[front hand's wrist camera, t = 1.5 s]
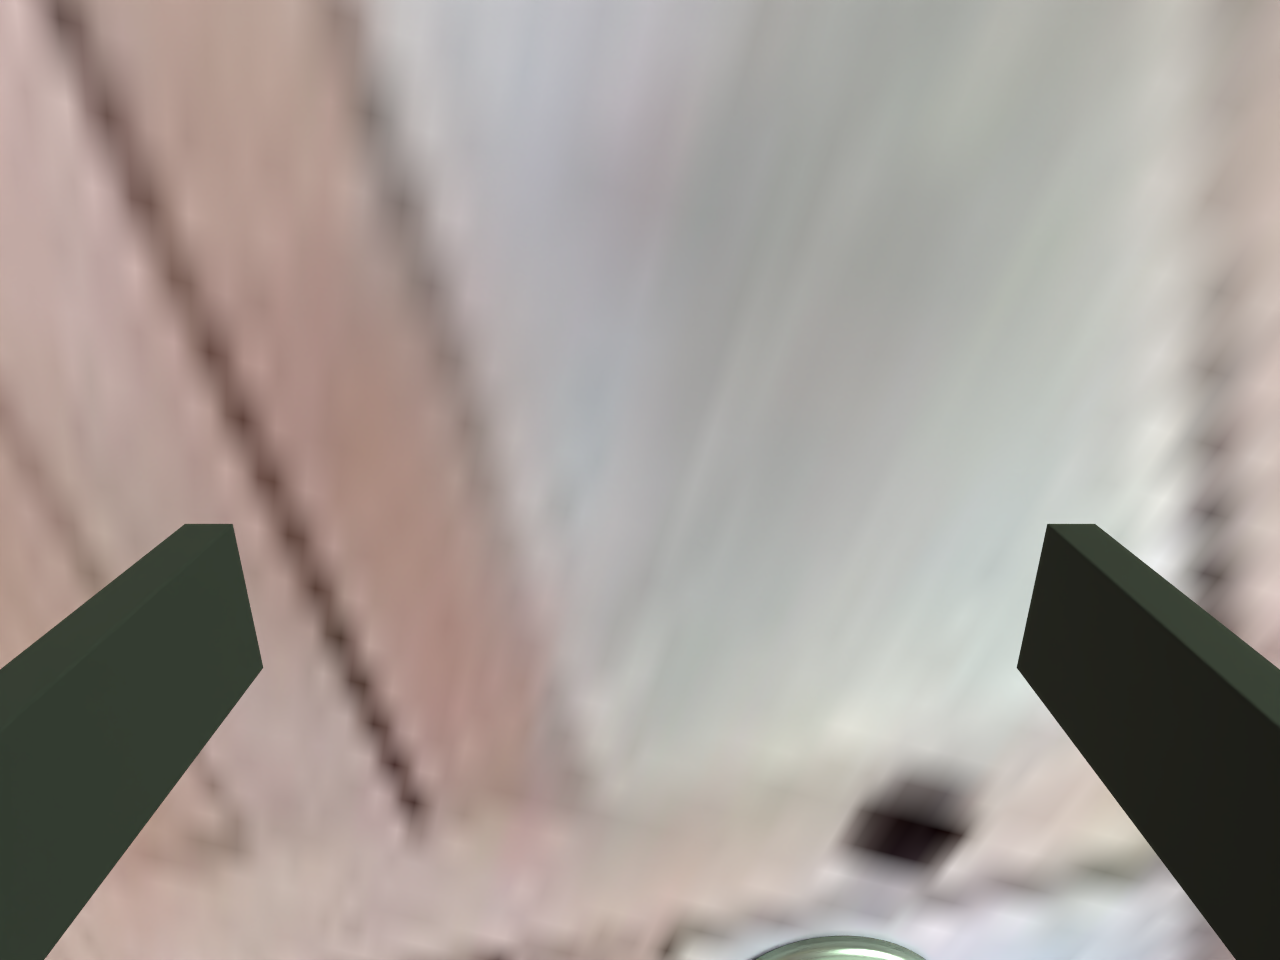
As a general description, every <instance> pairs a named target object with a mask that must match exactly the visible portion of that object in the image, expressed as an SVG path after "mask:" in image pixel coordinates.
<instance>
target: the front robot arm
mask: <svg viewBox="0 0 1280 960" xmlns="http://www.w3.org/2000/svg"><path fill="white" fill-rule="evenodd" d="M262 669H263V665H262V660H261V655H260V650H259V646H258V641H257V636H256V632H255V627H254V622H253V618H252V613H251V608H250V603H249V599H248V594H247V589H246V585H245V580H244V575H243V571H242V566H241V561H240V557H239V552H238V547H237V542H236V538H235V533H234V528H233V524H184V525H183V526H182V527H181V528H179V529H178V530H177V531H176V532H174V533H173V534H172V535H170V536H169V537H168V538H167V539H165V540H164V541H163V542H162V543H160V544H159V545H158V546H157V547H155V548H154V549H153V550H151V551H150V552H149V553H148V554H146V555H145V556H144V557H143V558H141V559H140V560H139V561H138V562H136V563H135V564H134V565H132V566H131V567H130V568H129V569H127V570H126V571H125V572H124V573H122V574H121V575H120V576H118V577H117V578H116V579H115V580H113V581H112V582H111V583H110V584H108V585H107V586H106V587H105V588H103V589H102V590H101V591H99V592H98V593H97V594H96V595H94V596H93V597H92V598H91V599H89V600H88V601H87V602H85V603H84V604H83V605H82V606H80V607H79V608H78V609H77V610H75V611H74V612H73V613H72V614H70V615H69V616H68V617H66V618H65V619H64V620H63V621H61V622H60V623H59V624H58V625H56V626H55V627H54V628H52V629H51V630H50V631H49V632H47V633H46V634H45V635H44V636H42V637H41V638H40V639H39V640H37V641H36V642H35V643H33V644H32V645H31V646H30V647H28V648H27V649H26V650H25V651H23V652H22V653H21V654H20V655H18V656H17V657H16V658H14V659H13V660H12V661H11V662H9V663H8V664H7V665H6V666H4V667H3V668H2V669H0V960H44V959H45V958H46V956H47V955H48V954H49V952H50V951H51V950H52V948H53V947H54V946H55V944H56V943H57V942H58V940H59V939H60V938H61V936H62V935H63V934H64V932H65V931H66V930H67V928H68V927H69V926H70V924H71V923H72V922H73V920H74V919H75V918H76V916H77V915H78V914H79V912H80V911H81V910H82V908H83V907H84V906H85V904H86V903H87V902H88V900H89V899H90V898H91V896H92V895H93V894H94V892H95V891H96V890H97V888H98V887H99V886H100V884H101V883H102V882H103V880H104V879H105V878H106V876H107V875H108V874H109V872H110V871H111V870H112V868H113V867H114V866H115V864H116V863H117V862H118V860H119V859H120V858H121V856H122V855H123V854H124V852H125V851H126V850H127V849H128V847H129V846H130V845H131V843H132V842H133V841H134V839H135V838H136V837H137V835H138V834H139V833H140V831H141V830H142V829H143V827H144V826H145V825H146V823H147V822H148V821H149V819H150V818H151V817H152V815H153V814H154V813H155V811H156V810H157V809H158V807H159V806H160V805H161V803H162V802H163V801H164V799H165V798H166V797H167V795H168V794H169V793H170V791H171V790H172V789H173V787H174V786H175V785H176V783H177V782H178V781H179V779H180V778H181V777H182V775H183V774H184V773H185V771H186V770H187V769H188V767H189V766H190V765H191V763H192V762H193V761H194V759H195V758H196V757H197V755H198V754H199V753H200V751H201V750H202V749H203V747H204V746H205V745H206V743H207V742H208V741H209V739H210V738H211V737H212V735H213V734H214V733H215V731H216V730H217V729H218V727H219V726H220V725H221V723H222V722H223V721H224V719H225V718H226V717H227V715H228V714H229V713H230V711H231V710H232V709H233V707H234V706H235V705H236V703H237V702H238V701H239V699H240V698H241V697H242V695H243V694H244V693H245V691H246V690H247V689H248V687H249V686H250V685H251V683H252V682H253V681H254V679H255V678H256V677H257V675H258V674H259V673H260V671H261V670H262ZM1017 669H1018V670H1019V671H1020V673H1021V674H1022V675H1023V677H1024V678H1025V679H1026V681H1027V682H1028V683H1029V685H1030V686H1031V687H1032V689H1033V690H1034V691H1035V693H1036V694H1037V695H1038V697H1039V698H1040V699H1041V701H1042V702H1043V703H1044V705H1045V706H1046V707H1047V709H1048V710H1049V711H1050V713H1051V714H1052V715H1053V717H1054V718H1055V719H1056V721H1057V722H1058V723H1059V725H1060V726H1061V727H1062V729H1063V730H1064V731H1065V733H1066V734H1067V735H1068V737H1069V738H1070V739H1071V741H1072V742H1073V743H1074V745H1075V746H1076V747H1077V749H1078V750H1079V751H1080V753H1081V754H1082V755H1083V757H1084V758H1085V759H1086V761H1087V762H1088V763H1089V765H1090V766H1091V767H1092V769H1093V770H1094V771H1095V773H1096V774H1097V775H1098V777H1099V778H1100V779H1101V781H1102V782H1103V783H1104V785H1105V786H1106V787H1107V789H1108V790H1109V791H1110V793H1111V794H1112V795H1113V797H1114V798H1115V799H1116V801H1117V802H1118V803H1119V805H1120V806H1121V807H1122V809H1123V810H1124V811H1125V813H1126V814H1127V815H1128V817H1129V818H1130V819H1131V821H1132V822H1133V823H1134V825H1135V826H1136V827H1137V829H1138V830H1139V831H1140V833H1141V834H1142V835H1143V837H1144V838H1145V839H1146V841H1147V842H1148V843H1149V845H1150V846H1151V847H1152V849H1153V850H1154V851H1155V853H1156V854H1157V855H1158V857H1159V858H1160V859H1161V860H1162V862H1163V863H1164V864H1165V866H1166V867H1167V868H1168V870H1169V871H1170V872H1171V874H1172V875H1173V876H1174V878H1175V879H1176V880H1177V882H1178V883H1179V884H1180V886H1181V887H1182V888H1183V890H1184V891H1185V892H1186V894H1187V895H1188V896H1189V898H1190V899H1191V900H1192V902H1193V903H1194V904H1195V906H1196V907H1197V908H1198V910H1199V911H1200V912H1201V914H1202V915H1203V916H1204V918H1205V919H1206V920H1207V922H1208V923H1209V924H1210V926H1211V927H1212V928H1213V930H1214V931H1215V932H1216V934H1217V935H1218V936H1219V938H1220V939H1221V940H1222V942H1223V943H1224V944H1225V946H1226V947H1227V948H1228V950H1229V951H1230V952H1231V954H1232V955H1233V956H1234V958H1235V959H1236V960H1280V669H1278V668H1277V667H1276V666H1274V665H1273V664H1272V663H1271V662H1269V661H1268V660H1267V659H1266V658H1264V657H1263V656H1262V655H1260V654H1259V653H1258V652H1257V651H1255V650H1254V649H1253V648H1252V647H1250V646H1249V645H1248V644H1247V643H1245V642H1244V641H1243V640H1241V639H1240V638H1239V637H1238V636H1236V635H1235V634H1234V633H1233V632H1231V631H1230V630H1229V629H1228V628H1226V627H1225V626H1224V625H1222V624H1221V623H1220V622H1219V621H1217V620H1216V619H1215V618H1214V617H1212V616H1211V615H1210V614H1208V613H1207V612H1206V611H1205V610H1203V609H1202V608H1201V607H1200V606H1198V605H1197V604H1196V603H1195V602H1193V601H1192V600H1191V599H1189V598H1188V597H1187V596H1186V595H1184V594H1183V593H1182V592H1181V591H1179V590H1178V589H1177V588H1175V587H1174V586H1173V585H1172V584H1170V583H1169V582H1168V581H1167V580H1165V579H1164V578H1163V577H1162V576H1160V575H1159V574H1158V573H1156V572H1155V571H1154V570H1153V569H1151V568H1150V567H1149V566H1148V565H1146V564H1145V563H1144V562H1142V561H1141V560H1140V559H1139V558H1137V557H1136V556H1135V555H1134V554H1132V553H1131V552H1130V551H1129V550H1127V549H1126V548H1125V547H1123V546H1122V545H1121V544H1120V543H1118V542H1117V541H1116V540H1115V539H1113V538H1112V537H1111V536H1110V535H1108V534H1107V533H1106V532H1104V531H1103V530H1102V529H1101V528H1099V527H1098V526H1097V525H1096V524H1047V528H1046V533H1045V538H1044V542H1043V547H1042V552H1041V557H1040V561H1039V566H1038V571H1037V575H1036V580H1035V585H1034V589H1033V594H1032V599H1031V603H1030V608H1029V613H1028V618H1027V622H1026V627H1025V632H1024V636H1023V641H1022V646H1021V650H1020V655H1019V660H1018V664H1017ZM755 960H925V959H924V958H923V957H921V956H919V955H918V954H916V953H914V952H912V951H910V950H909V949H907V948H904V947H902V946H899V945H897V944H894V943H890V942H887V941H883V940H879V939H874V938H867V937H859V936H829V937H819V938H813V939H807V940H803V941H798V942H795V943H792V944H788V945H785V946H783V947H780V948H777V949H775V950H773V951H770V952H768V953H766V954H764V955H762V956H761V957H759V958H757V959H755Z"/></svg>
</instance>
